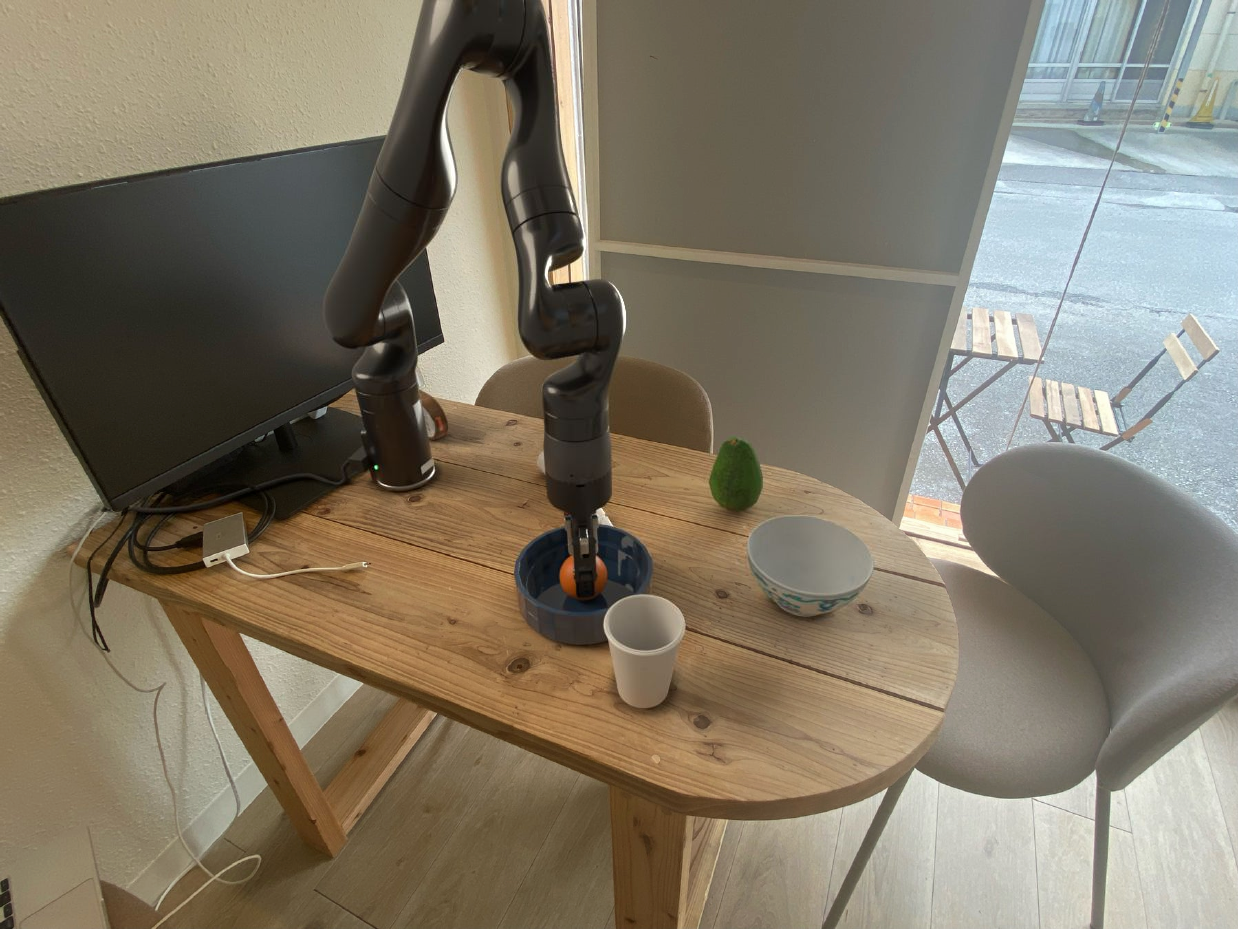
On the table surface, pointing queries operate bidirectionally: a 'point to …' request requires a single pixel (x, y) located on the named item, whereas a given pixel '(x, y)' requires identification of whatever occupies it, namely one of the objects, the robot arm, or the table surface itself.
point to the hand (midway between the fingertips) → (583, 571)
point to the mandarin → (569, 581)
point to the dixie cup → (644, 647)
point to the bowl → (562, 613)
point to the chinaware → (808, 563)
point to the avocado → (736, 475)
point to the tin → (433, 416)
